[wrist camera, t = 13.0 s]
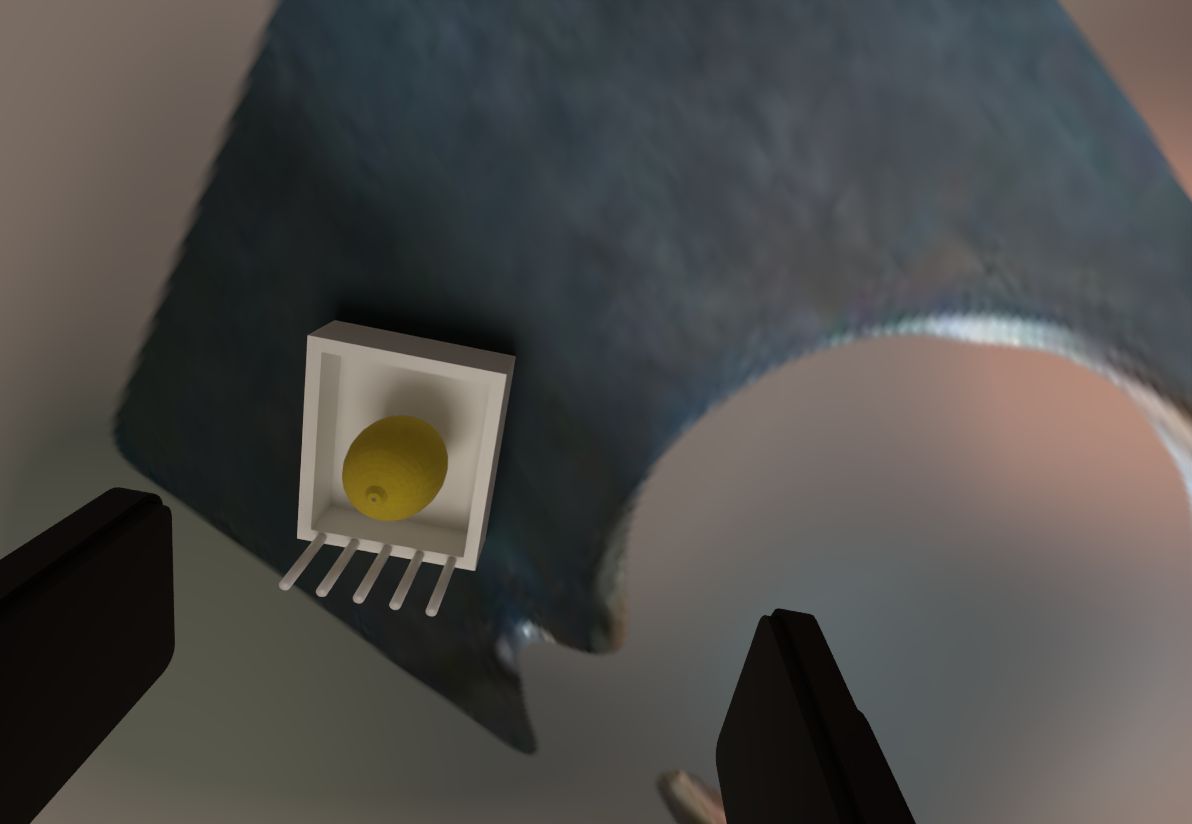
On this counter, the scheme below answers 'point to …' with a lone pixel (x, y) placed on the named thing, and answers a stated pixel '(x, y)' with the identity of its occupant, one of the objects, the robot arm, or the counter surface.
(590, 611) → the counter surface
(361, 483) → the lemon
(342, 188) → the counter surface
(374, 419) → the rack
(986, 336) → the counter surface
